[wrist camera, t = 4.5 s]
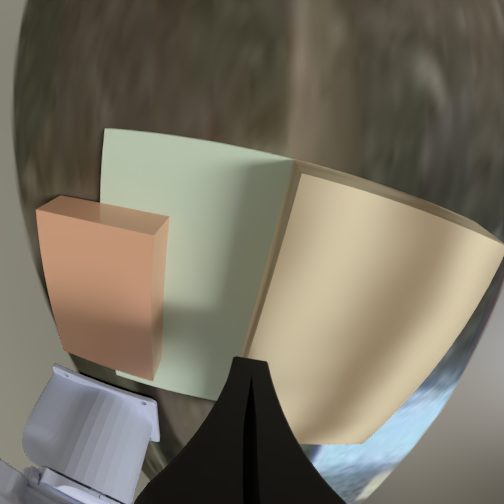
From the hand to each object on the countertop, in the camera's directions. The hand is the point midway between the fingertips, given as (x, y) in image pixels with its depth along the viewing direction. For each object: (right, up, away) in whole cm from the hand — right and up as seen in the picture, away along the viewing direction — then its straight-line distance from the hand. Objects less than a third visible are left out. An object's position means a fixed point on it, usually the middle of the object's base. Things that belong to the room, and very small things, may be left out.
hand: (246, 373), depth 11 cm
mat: (-4, +3, +3) cm, 6 cm away
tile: (-7, +2, +1) cm, 8 cm away
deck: (+5, +1, +4) cm, 6 cm away
